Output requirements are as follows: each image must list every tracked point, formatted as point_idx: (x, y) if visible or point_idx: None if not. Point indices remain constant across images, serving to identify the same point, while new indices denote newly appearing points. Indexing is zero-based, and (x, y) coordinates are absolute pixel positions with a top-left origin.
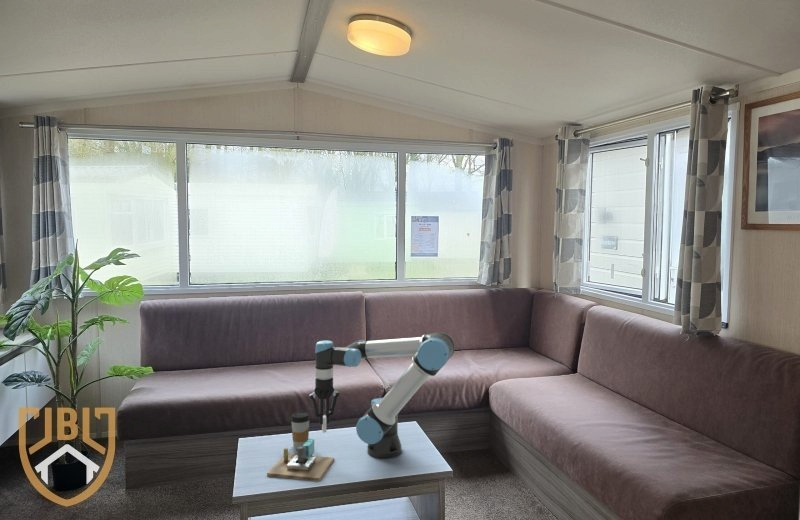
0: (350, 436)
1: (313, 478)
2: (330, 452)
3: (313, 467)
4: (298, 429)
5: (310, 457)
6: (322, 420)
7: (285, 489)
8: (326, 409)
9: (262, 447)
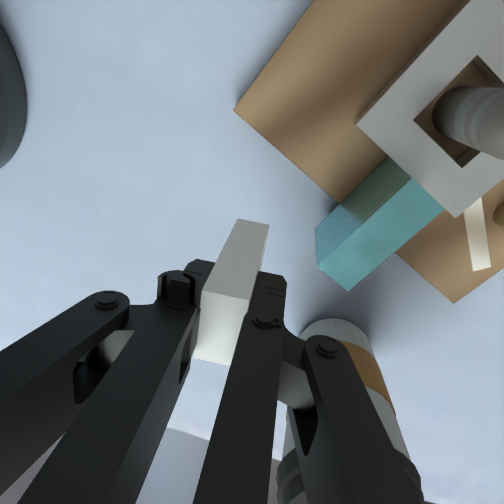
0: None
1: None
2: (219, 218)
3: (410, 33)
4: (378, 406)
5: (390, 137)
6: (256, 294)
7: None
8: (162, 372)
9: (487, 424)
